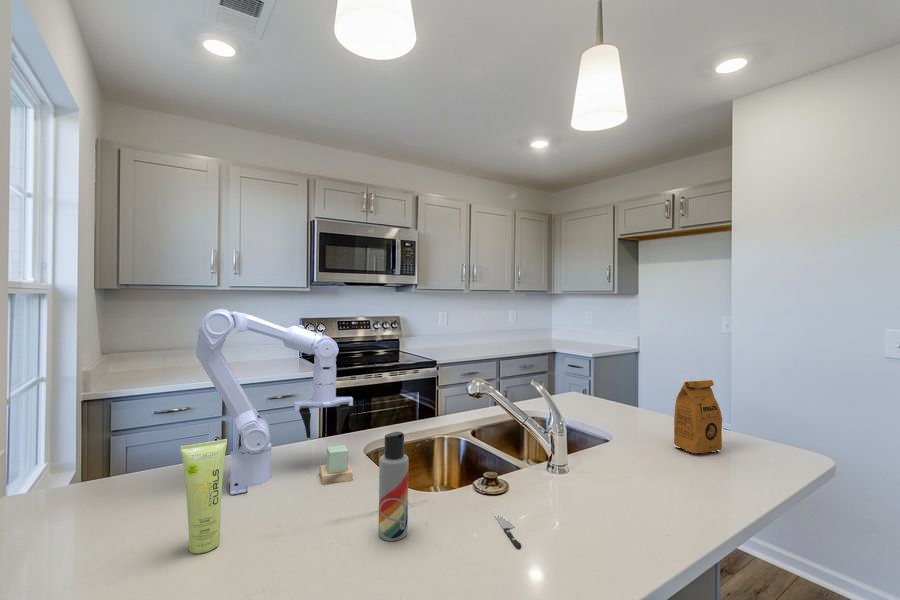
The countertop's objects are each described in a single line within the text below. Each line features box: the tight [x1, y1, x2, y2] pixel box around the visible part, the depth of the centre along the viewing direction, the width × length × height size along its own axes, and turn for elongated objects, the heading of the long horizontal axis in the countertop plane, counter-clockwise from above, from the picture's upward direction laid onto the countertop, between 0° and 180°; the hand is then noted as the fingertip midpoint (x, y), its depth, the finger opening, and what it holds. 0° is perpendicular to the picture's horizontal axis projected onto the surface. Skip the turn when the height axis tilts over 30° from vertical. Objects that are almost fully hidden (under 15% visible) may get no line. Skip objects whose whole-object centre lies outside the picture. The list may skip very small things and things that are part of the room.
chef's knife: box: [493, 515, 522, 550], centre depth 90 cm, size 19×1×3 cm
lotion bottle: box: [378, 431, 409, 542], centre depth 85 cm, size 6×6×20 cm
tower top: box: [319, 462, 353, 486], centre depth 108 cm, size 7×7×2 cm
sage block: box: [325, 444, 349, 473], centre depth 107 cm, size 4×4×5 cm
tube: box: [179, 438, 228, 554], centre depth 79 cm, size 6×5×20 cm
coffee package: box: [673, 379, 723, 454], centre depth 134 cm, size 10×12×22 cm
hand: (323, 435), depth 112 cm, fingers open, 7 cm apart
